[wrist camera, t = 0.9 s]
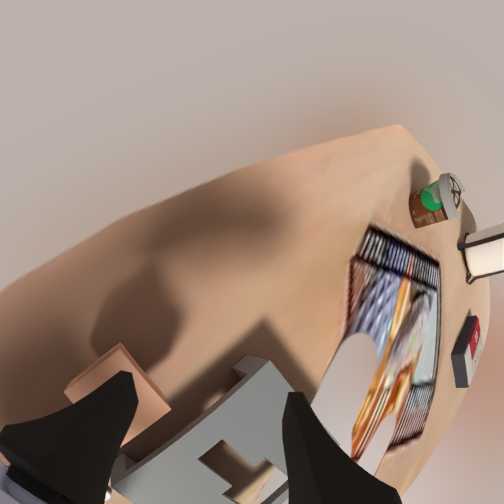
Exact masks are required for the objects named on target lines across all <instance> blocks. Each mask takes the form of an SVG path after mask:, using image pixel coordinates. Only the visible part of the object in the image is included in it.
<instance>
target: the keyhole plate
mask: <svg viewBox="0 0 504 504" xmlns="http://www.w3.org/2000/svg"><path fill="white" fill-rule="evenodd" d="M232 368H233V369H234V370H235V372H236V373H237V374H238V375H239V376H240V378H241V379H242V380H241V381H240V382H238V383H237V384H236V385H235V386H234V387H233V388H232V389H231V390H230V391H228V392H227V393H226V394H225V395H224V396H223V397H221V398H220V399H219V400H218V401H217V402H216V403H214V404H213V405H212V406H211V407H210V408H209V409H207V410H206V411H205V412H204V413H203V414H201V415H200V416H199V417H198V418H196V419H195V420H194V421H193V422H191V423H190V424H189V425H188V426H186V427H185V428H184V429H183V430H181V431H180V432H179V433H178V434H176V435H175V436H174V437H172V438H171V439H170V440H168V441H167V442H166V443H164V444H163V445H162V446H160V447H159V448H158V449H156V450H155V451H154V452H152V453H151V454H149V455H148V456H147V457H145V458H144V459H142V460H141V461H140V462H138V463H137V464H136V463H135V462H134V461H133V460H132V459H130V458H129V457H128V456H127V455H126V454H125V453H123V454H122V455H120V456H119V457H117V458H116V459H115V461H114V464H113V468H112V471H111V475H110V479H111V487H112V488H113V489H114V490H116V491H117V492H118V493H120V494H121V495H122V496H124V497H125V498H127V499H128V500H129V501H131V502H132V503H134V504H240V503H238V502H237V501H235V500H233V499H232V498H230V497H229V496H227V495H226V494H224V492H225V491H227V490H228V489H229V488H231V487H232V485H231V484H230V483H229V481H227V480H226V479H225V478H223V477H222V476H221V475H219V474H218V473H217V472H215V471H214V470H213V469H212V468H210V467H209V466H208V465H206V464H205V463H204V462H203V461H201V460H200V459H199V457H201V456H202V455H203V454H204V453H206V452H207V451H208V450H209V449H211V448H212V447H213V446H214V445H215V444H217V443H218V442H219V441H220V440H221V439H222V440H224V441H225V442H226V443H227V444H228V445H229V446H230V447H231V448H233V449H234V450H235V451H236V452H237V453H238V454H239V455H241V456H242V457H243V458H244V459H245V460H247V461H248V462H249V463H250V464H252V465H253V466H254V467H256V466H257V465H258V464H259V463H260V462H261V461H262V460H263V459H265V458H266V459H267V460H268V461H269V462H271V463H272V464H273V465H274V466H275V467H277V468H278V469H279V470H281V471H282V472H283V473H284V474H286V475H287V468H286V461H285V454H284V447H283V440H282V417H283V413H284V409H285V405H286V401H287V396H288V392H295V391H294V390H293V388H292V387H291V386H290V385H289V383H288V382H287V381H286V380H285V378H284V377H283V376H282V375H281V373H280V372H279V371H278V370H277V368H276V367H275V366H274V364H273V363H272V362H271V361H270V360H268V359H264V358H260V357H256V356H252V355H248V354H247V355H246V356H244V357H243V358H242V359H241V360H240V361H239V362H238V363H237V364H236V365H234V366H233V367H232ZM321 424H322V423H321ZM323 427H324V426H323ZM324 428H325V427H324ZM325 430H326V431H327V432H328V430H327V429H326V428H325ZM328 434H329V435H330V436H331V438H332V439H333V440H334V441H335V442H336V444H337V445H338V446H339V445H340V444H339V443H338V442H337V441H336V440H335V438H334V437H333V436H332V435H331V434H330V433H329V432H328ZM287 476H288V475H287ZM287 498H289V489H288V480H287V481H286V482H285V483H284V484H283V485H282V486H281V487H279V488H278V489H277V490H276V491H275V492H274V493H273V494H271V495H270V496H269V497H268V498H267V499H266V500H265V501H263V502H262V503H261V504H282V503H283V502H284V501H285V500H287Z"/></svg>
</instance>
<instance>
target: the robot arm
mask: <svg viewBox="0 0 504 504" xmlns="http://www.w3.org/2000/svg"><path fill="white" fill-rule="evenodd" d="M138 403H139V400H138V396H137V392H136V388H135V383H134V379H133V374H132V373H131V372H127V371H122V370H120V371H119V372H118V373H116V374H115V375H114V376H112V377H111V378H110V379H108V380H107V381H106V382H104V383H103V384H102V385H101V386H99V387H98V388H96V389H95V390H94V391H92V392H91V393H89V394H88V395H86V396H85V397H83V398H82V399H80V400H79V401H77V402H76V403H74V404H72V405H70V406H68V407H66V408H64V409H62V410H60V411H58V412H56V413H53V414H51V415H48V416H45V417H43V418H40V419H36V420H33V421H29V422H24V423H18V424H11V425H5V427H4V428H3V429H2V431H1V432H0V452H1V453H2V454H3V455H4V457H5V458H6V459H7V460H8V461H9V462H10V463H11V466H10V468H9V467H8V466H7V465H5V464H4V463H3V462H2V461H0V504H104V502H105V501H106V500H108V499H109V498H111V493H110V492H109V491H108V490H107V487H108V483H109V479H110V475H111V471H112V468H113V464H114V461H115V458H116V456H117V453H118V451H119V449H120V446H121V444H122V442H123V440H124V438H125V436H126V434H127V432H128V430H129V428H130V425H131V423H132V421H133V419H134V416H135V413H136V410H137V407H138ZM282 440H283V447H284V454H285V461H286V468H287V475H288V489H289V504H402V502H401V499H400V496H399V494H398V492H397V490H396V489H395V488H393V487H391V486H389V485H387V484H385V483H384V482H382V481H380V480H378V479H377V478H375V477H374V476H372V475H371V474H369V473H368V472H367V471H365V470H364V469H363V468H362V467H360V466H359V465H358V464H357V463H355V462H354V461H353V460H352V459H351V458H350V457H349V456H348V455H347V454H346V453H345V452H344V451H343V450H342V449H341V448H340V447H339V446H338V445H337V444H336V442H335V441H334V440H333V439H332V438H331V436H330V435H329V434H328V432H327V431H326V430H325V428H324V427H323V425H322V424H321V422H320V421H319V420H318V418H317V416H316V415H315V413H314V412H313V410H312V408H311V406H310V405H309V403H308V401H307V399H306V397H305V395H304V393H303V392H288V396H287V401H286V405H285V409H284V413H283V417H282Z"/></svg>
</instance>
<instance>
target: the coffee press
mask: <svg viewBox="0 0 504 504" xmlns="http://www.w3.org/2000/svg"><path fill="white" fill-rule="evenodd" d="M465 238H466V241H465V243H458V250H460V251H464V252H465V255H466V261H467V265H468V268H469V271H470V274H469V276H468V277H467V279H466V282H467V283H468V284H469V285H471V284H472V283H473V282H474V281H475V280H476V279H479V278H484V277H489V276H493V275H498V274H502V273H504V223H503V224H500V225H497V226H494V227H491V228H488V229H485V230H481V231H478V232H475V233H472V234H469V233H466V234H465ZM471 275H472V276H473V277H474V278H473V279H472V280H471V281H470V282H468V281H469V279H470V278H471Z"/></svg>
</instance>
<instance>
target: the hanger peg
mask: <svg viewBox="0 0 504 504" xmlns="http://www.w3.org/2000/svg"><path fill="white" fill-rule="evenodd" d="M120 370H122V371H127V372H131V373H132V374H133V379H134V383H135V388H136V392H137V396H138V400H139V403H138V407H137V410H136V413H135V416H134V419H133V421H132V423H131V425H130V428H129V430H128V432H127V434H126V436H125V438H124V440H123V442H122V444H121V446H123V445H124V444H126V443H127V442H129V441H130V440H131V439H133V438H134V437H135V436H137V435H138V434H140V433H141V432H142V431H144V430H145V429H146V428H148V427H149V426H150V425H152V424H153V423H154V422H156V421H157V420H158V419H160V418H161V417H162V416H163V415H165V414H166V413H167V412H169V411H170V410H171V408H170V406H169V404H168V403H167V401H166V399H165V397H164V396H163V394H162V392H161V391H160V390H159V389H158V387H157V386H156V385H155V384H154V383H153V382H152V381H151V379H150V378H149V377H148V376H147V375H146V374H145V372H144V371H143V370H142V369H141V367H140V366H139V365H138V364H137V363H136V361H135V360H134V359H133V358H132V356H131V355H130V354H129V352H128V351H127V350H126V349H125V347H124V346H123V345H122V343H121V342H120V343H119V344H117V345H116V346H115V347H113V348H112V349H111V350H109V351H108V352H107V353H105V354H104V355H103V356H101V357H100V358H99V359H97V360H96V361H95V362H93V363H92V364H91V365H89V366H88V367H87V368H85V369H84V370H83V371H81V372H80V373H79V374H77V375H76V376H75V377H74V378H73V379H72V381H71V382H70V383H69V385H68V386H67V387H66V389H65V390H64V393H65V394H66V396H67V397H68V398H69V399H70V401H71V402H72V403H73V404H74V403H76V402H77V401H79V400H80V399H82V398H83V397H85V396H86V395H88V394H89V393H91V392H92V391H94V390H95V389H96V388H98V387H99V386H101V385H102V384H103V383H104V382H106V381H107V380H108V379H110V378H111V377H112V376H114V375H115V374H116V373H118V372H119V371H120ZM121 446H120V447H121Z"/></svg>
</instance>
